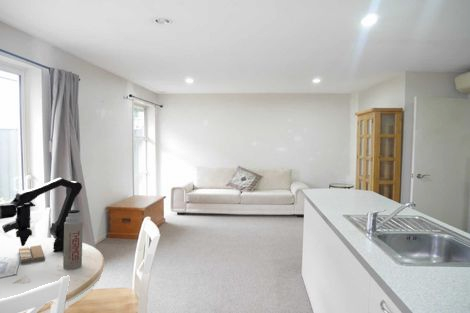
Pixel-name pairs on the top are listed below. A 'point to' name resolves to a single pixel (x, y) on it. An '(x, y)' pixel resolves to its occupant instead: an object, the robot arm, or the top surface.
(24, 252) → the plank
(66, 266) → the thermos bottle
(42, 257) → the floor panel
